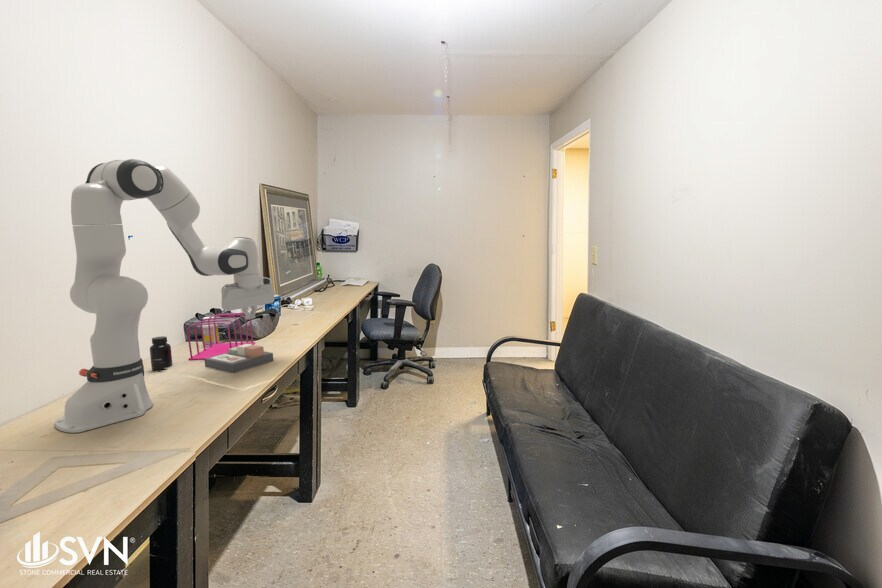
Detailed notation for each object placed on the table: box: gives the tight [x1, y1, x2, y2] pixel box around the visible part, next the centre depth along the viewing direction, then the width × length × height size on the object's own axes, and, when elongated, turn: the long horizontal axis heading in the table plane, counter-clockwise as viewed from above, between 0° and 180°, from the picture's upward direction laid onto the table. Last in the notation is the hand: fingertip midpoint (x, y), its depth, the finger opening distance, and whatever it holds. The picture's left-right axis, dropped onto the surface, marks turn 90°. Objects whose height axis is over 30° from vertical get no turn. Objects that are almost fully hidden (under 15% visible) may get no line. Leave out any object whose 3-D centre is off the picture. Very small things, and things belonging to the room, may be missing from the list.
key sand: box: [237, 344, 255, 356], centre depth 177 cm, size 4×4×4 cm
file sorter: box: [186, 312, 256, 361], centre depth 194 cm, size 17×25×16 cm
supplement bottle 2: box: [202, 316, 220, 348], centre depth 209 cm, size 7×7×13 cm
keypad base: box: [203, 350, 274, 374], centre depth 175 cm, size 17×17×4 cm
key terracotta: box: [246, 344, 265, 358], centre depth 174 cm, size 4×4×4 cm
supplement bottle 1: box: [149, 335, 173, 372], centre depth 174 cm, size 7×7×12 cm
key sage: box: [228, 347, 237, 354], centre depth 180 cm, size 4×4×4 cm
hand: (250, 318), depth 173 cm, fingers closed
